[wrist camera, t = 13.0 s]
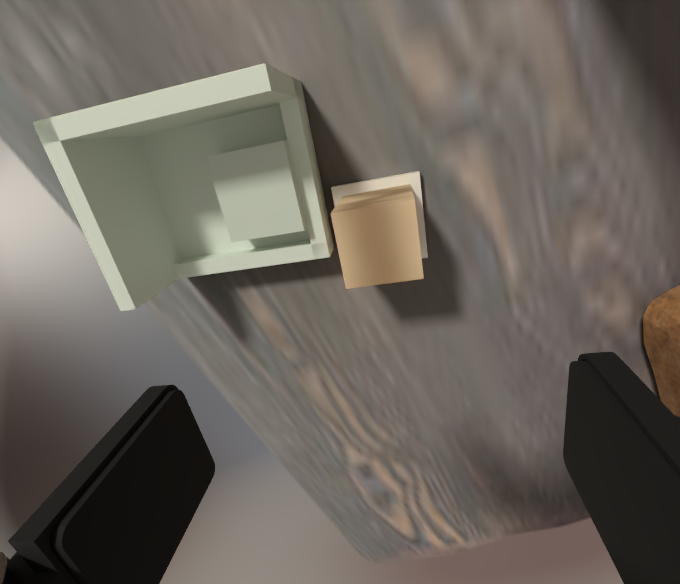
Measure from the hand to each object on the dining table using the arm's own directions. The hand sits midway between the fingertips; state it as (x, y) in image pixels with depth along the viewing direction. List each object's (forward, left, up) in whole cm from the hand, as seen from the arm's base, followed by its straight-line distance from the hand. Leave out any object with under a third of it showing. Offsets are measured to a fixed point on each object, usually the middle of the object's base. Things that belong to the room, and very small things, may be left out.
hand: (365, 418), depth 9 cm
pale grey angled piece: (+11, -4, -22) cm, 25 cm away
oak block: (0, 0, -21) cm, 21 cm away
